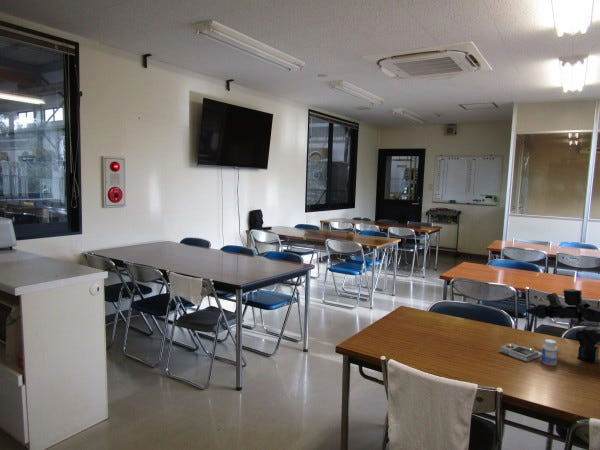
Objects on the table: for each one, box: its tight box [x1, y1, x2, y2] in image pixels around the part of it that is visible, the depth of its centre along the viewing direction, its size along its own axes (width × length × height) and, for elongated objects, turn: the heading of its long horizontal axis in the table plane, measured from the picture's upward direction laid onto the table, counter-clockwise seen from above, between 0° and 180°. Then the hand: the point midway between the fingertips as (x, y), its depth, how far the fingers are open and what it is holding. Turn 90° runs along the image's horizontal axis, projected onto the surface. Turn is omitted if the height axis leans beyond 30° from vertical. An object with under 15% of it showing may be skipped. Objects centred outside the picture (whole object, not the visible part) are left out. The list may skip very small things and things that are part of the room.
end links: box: [499, 342, 542, 362], centre depth 190 cm, size 12×13×3 cm
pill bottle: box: [541, 338, 558, 366], centre depth 180 cm, size 6×5×10 cm
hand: (530, 310), depth 202 cm, fingers open, 9 cm apart
